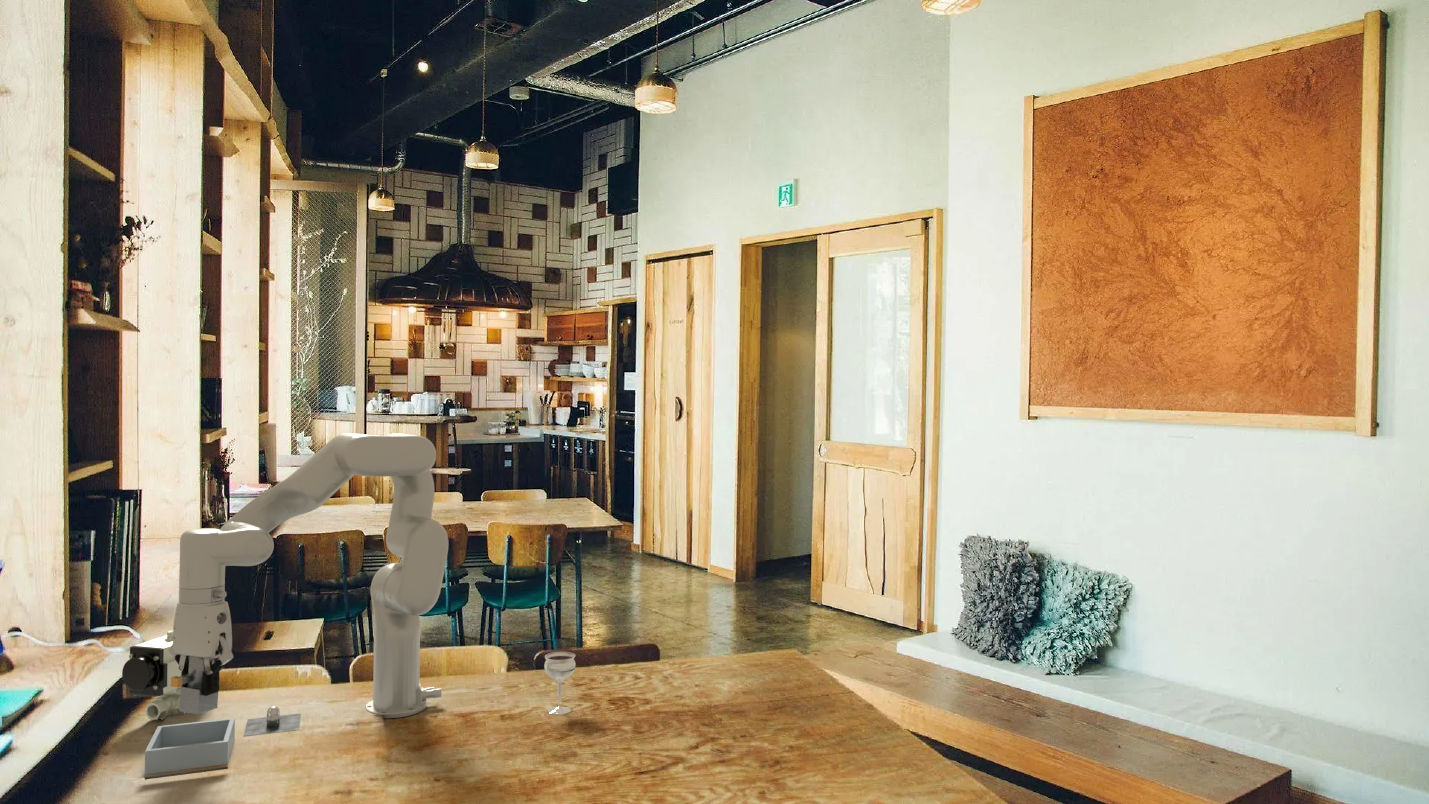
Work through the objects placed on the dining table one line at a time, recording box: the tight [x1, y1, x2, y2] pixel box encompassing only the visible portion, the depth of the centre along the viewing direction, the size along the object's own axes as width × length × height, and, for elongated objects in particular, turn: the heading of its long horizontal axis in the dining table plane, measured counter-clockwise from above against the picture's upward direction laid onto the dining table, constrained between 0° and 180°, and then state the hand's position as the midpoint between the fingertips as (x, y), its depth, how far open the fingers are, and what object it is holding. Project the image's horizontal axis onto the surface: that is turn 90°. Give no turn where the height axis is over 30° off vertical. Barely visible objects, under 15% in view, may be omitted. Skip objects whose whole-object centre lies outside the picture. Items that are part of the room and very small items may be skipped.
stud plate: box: [243, 705, 302, 737], centre depth 186 cm, size 10×10×5 cm
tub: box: [144, 717, 236, 780], centre depth 170 cm, size 13×13×5 cm
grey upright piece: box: [171, 656, 219, 715], centre depth 170 cm, size 8×4×12 cm, turn 163°
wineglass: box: [543, 651, 577, 715], centre depth 200 cm, size 7×7×12 cm
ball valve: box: [121, 630, 188, 721], centre depth 193 cm, size 18×8×18 cm, turn 168°
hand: (200, 691), depth 172 cm, fingers closed on grey upright piece, 4 cm apart
